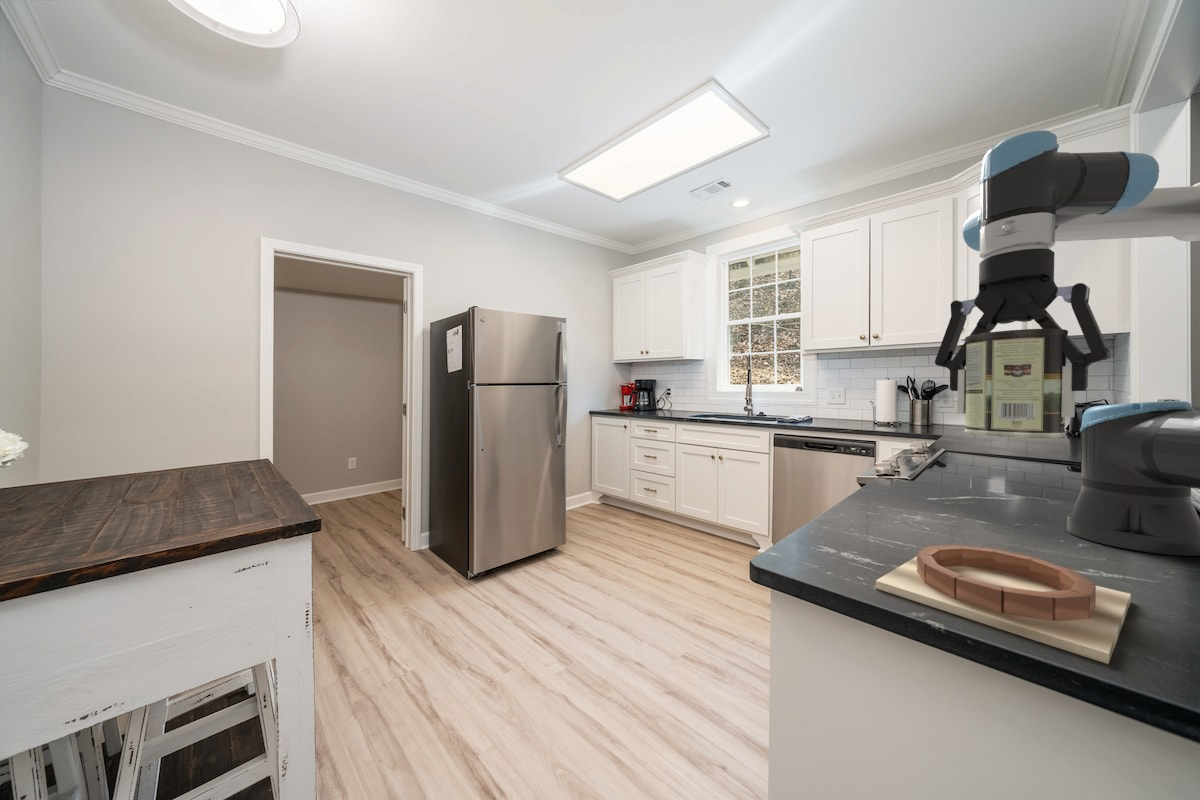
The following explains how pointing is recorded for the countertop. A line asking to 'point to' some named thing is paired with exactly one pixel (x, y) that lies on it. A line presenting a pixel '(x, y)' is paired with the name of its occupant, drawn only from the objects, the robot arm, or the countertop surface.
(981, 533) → the countertop surface
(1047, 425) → the coffee can
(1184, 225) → the robot arm
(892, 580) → the ring holder
